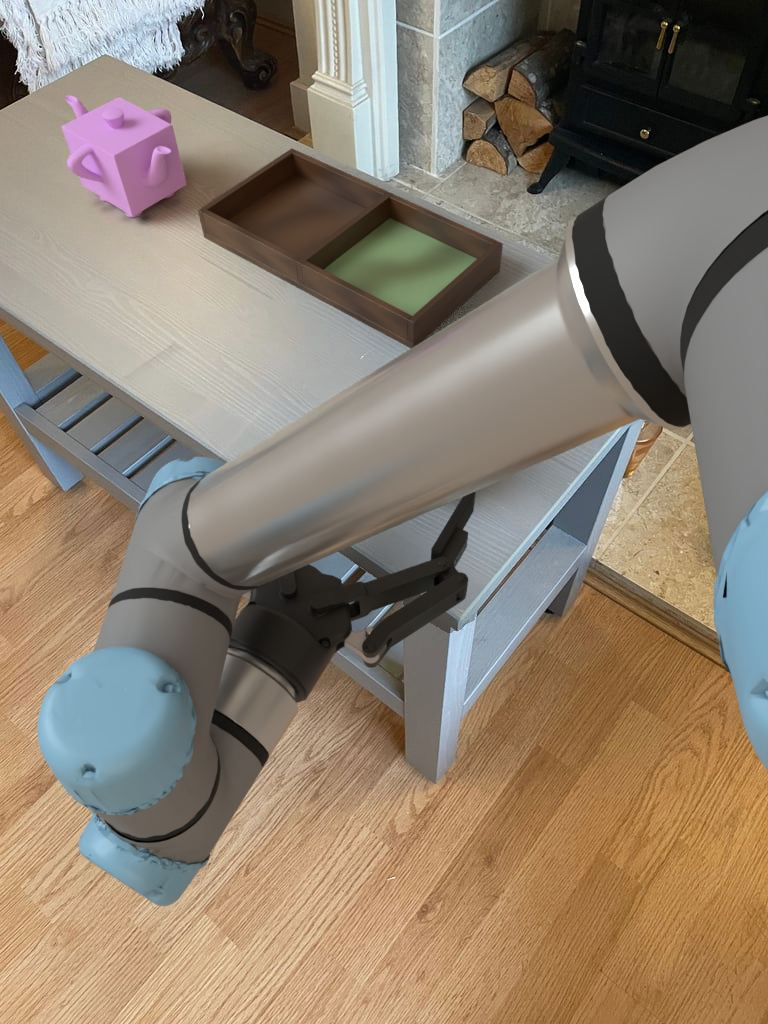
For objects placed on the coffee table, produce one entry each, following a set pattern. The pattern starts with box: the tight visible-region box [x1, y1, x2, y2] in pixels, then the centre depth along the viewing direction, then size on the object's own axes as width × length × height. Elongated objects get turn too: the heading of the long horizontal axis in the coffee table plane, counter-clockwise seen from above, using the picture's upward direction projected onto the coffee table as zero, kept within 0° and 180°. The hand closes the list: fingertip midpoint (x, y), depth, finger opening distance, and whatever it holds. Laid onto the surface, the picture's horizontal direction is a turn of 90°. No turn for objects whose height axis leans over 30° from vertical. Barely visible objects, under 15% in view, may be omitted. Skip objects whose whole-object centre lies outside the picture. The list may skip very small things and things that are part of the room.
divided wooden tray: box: [197, 148, 504, 349], centre depth 95 cm, size 32×17×4 cm, turn 51°
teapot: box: [61, 95, 187, 218], centre depth 100 cm, size 15×13×11 cm
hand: (397, 469), depth 68 cm, fingers open, 13 cm apart
